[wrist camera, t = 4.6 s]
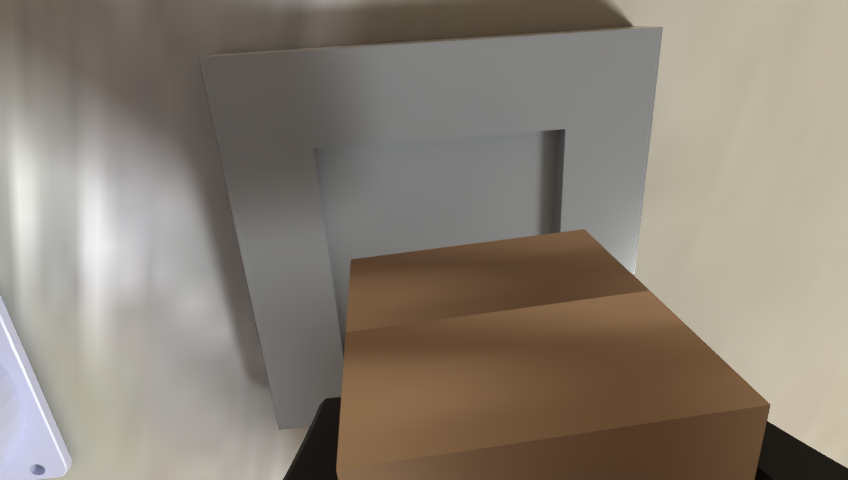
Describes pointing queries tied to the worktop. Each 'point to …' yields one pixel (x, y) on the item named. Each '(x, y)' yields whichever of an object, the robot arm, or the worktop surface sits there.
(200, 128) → the worktop surface
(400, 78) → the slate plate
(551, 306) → the brown block
